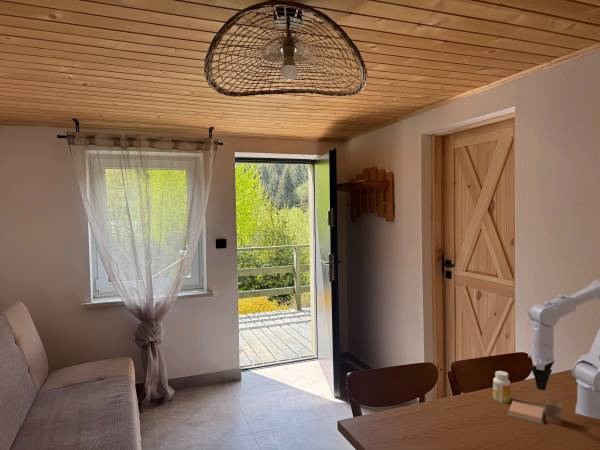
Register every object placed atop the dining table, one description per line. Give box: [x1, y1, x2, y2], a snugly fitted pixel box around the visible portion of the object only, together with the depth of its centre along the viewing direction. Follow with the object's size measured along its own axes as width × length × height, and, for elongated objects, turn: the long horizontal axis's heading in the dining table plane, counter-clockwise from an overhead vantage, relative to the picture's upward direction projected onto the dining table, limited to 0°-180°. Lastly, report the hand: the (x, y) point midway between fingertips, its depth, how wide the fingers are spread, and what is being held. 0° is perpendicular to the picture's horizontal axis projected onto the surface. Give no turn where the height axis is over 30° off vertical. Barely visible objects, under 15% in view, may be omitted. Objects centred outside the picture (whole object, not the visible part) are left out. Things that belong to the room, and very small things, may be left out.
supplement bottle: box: [492, 370, 511, 403], centre depth 141 cm, size 5×5×10 cm
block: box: [545, 399, 563, 426], centre depth 127 cm, size 4×4×6 cm
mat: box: [506, 399, 546, 425], centre depth 133 cm, size 10×13×1 cm
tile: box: [508, 400, 544, 424], centre depth 131 cm, size 9×1×8 cm
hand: (542, 385), depth 130 cm, fingers open, 7 cm apart
